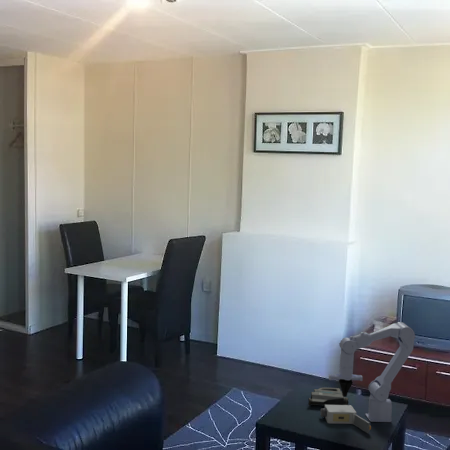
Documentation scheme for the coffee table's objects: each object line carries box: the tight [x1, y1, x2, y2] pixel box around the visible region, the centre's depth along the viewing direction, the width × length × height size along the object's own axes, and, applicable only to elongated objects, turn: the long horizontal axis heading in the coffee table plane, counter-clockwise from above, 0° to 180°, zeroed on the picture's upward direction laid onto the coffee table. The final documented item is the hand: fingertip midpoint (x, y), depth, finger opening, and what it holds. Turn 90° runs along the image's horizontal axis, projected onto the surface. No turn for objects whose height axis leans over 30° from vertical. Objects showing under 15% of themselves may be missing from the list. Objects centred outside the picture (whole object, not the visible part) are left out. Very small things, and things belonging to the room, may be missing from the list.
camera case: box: [319, 404, 357, 425], centre depth 263 cm, size 14×8×5 cm, turn 93°
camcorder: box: [307, 387, 349, 406], centre depth 283 cm, size 16×20×5 cm
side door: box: [352, 413, 372, 434], centre depth 254 cm, size 10×2×4 cm, turn 26°
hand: (344, 396), depth 264 cm, fingers closed
